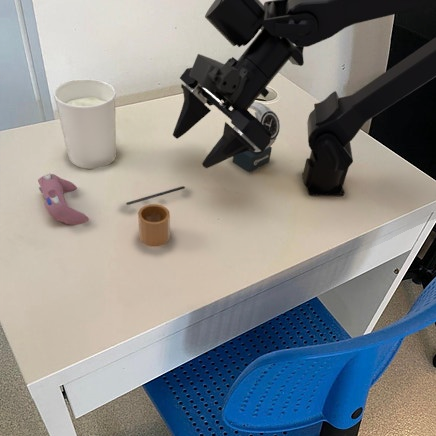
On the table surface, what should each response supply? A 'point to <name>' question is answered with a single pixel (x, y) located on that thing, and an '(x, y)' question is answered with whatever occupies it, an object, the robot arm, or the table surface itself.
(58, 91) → the candle holder
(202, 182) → the table surface
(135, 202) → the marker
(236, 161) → the watch
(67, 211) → the video game controller
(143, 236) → the brown wooden cup
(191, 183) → the table surface
